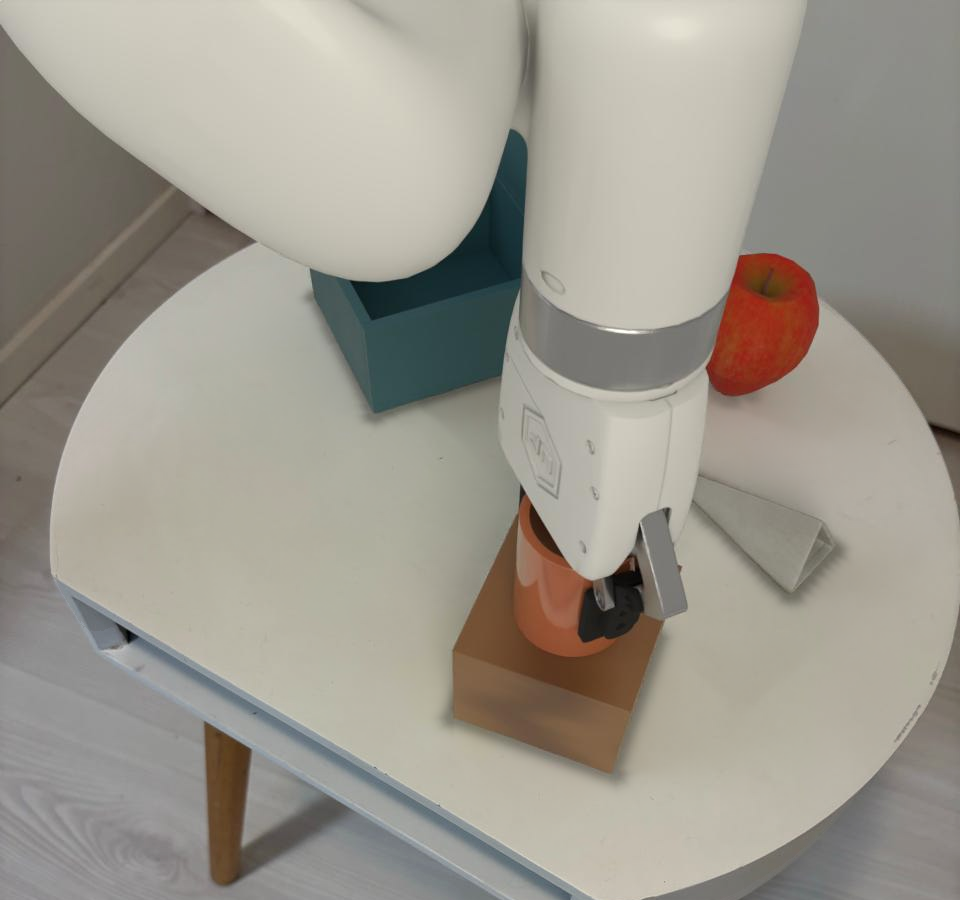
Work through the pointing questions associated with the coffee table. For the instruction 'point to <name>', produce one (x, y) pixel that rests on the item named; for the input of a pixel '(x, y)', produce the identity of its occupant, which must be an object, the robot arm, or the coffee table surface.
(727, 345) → the apple
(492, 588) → the stand
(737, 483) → the coffee table surface
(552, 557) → the cup
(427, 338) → the cool box
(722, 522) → the grey triangular spike
